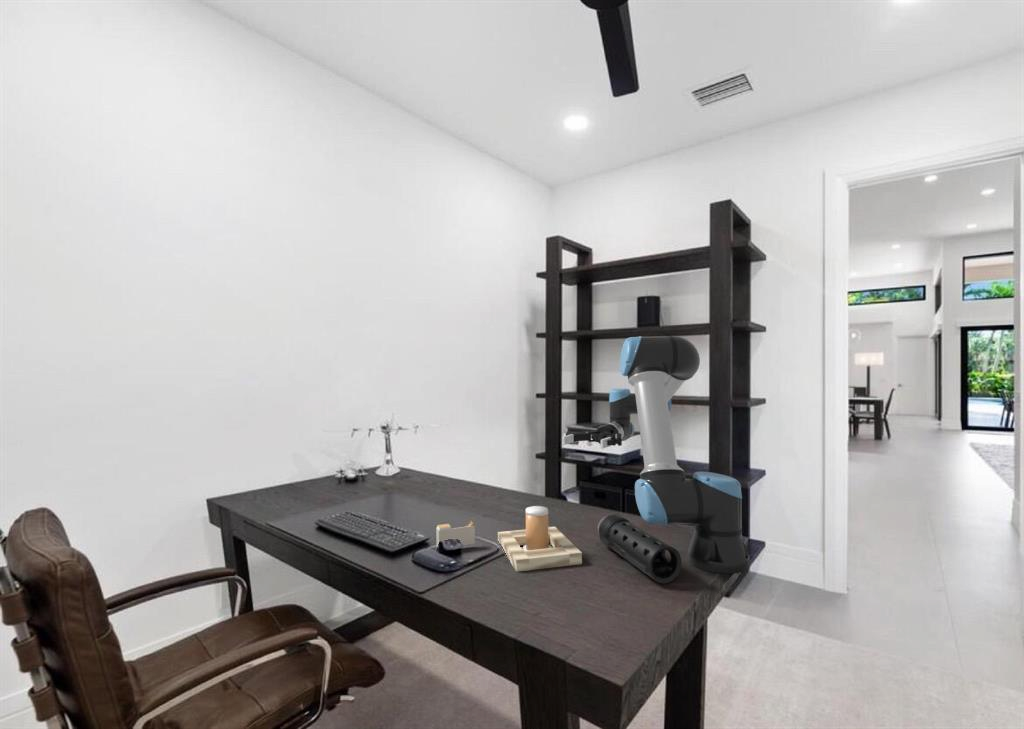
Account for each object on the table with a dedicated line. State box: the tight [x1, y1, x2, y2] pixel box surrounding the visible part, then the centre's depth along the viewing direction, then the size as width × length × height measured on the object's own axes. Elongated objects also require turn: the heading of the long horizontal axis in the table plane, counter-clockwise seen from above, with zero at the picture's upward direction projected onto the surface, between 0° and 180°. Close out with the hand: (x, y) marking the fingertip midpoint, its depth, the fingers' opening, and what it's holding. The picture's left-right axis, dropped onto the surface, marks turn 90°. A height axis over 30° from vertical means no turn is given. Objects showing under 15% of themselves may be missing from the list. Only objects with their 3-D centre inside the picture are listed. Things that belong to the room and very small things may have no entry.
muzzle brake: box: [596, 513, 683, 585], centre depth 133 cm, size 10×28×10 cm
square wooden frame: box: [497, 526, 583, 573], centre depth 140 cm, size 22×18×3 cm
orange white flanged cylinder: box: [522, 505, 553, 551], centre depth 140 cm, size 8×8×12 cm
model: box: [435, 519, 476, 547], centre depth 145 cm, size 3×11×8 cm, turn 111°
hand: (581, 442), depth 158 cm, fingers open, 13 cm apart
